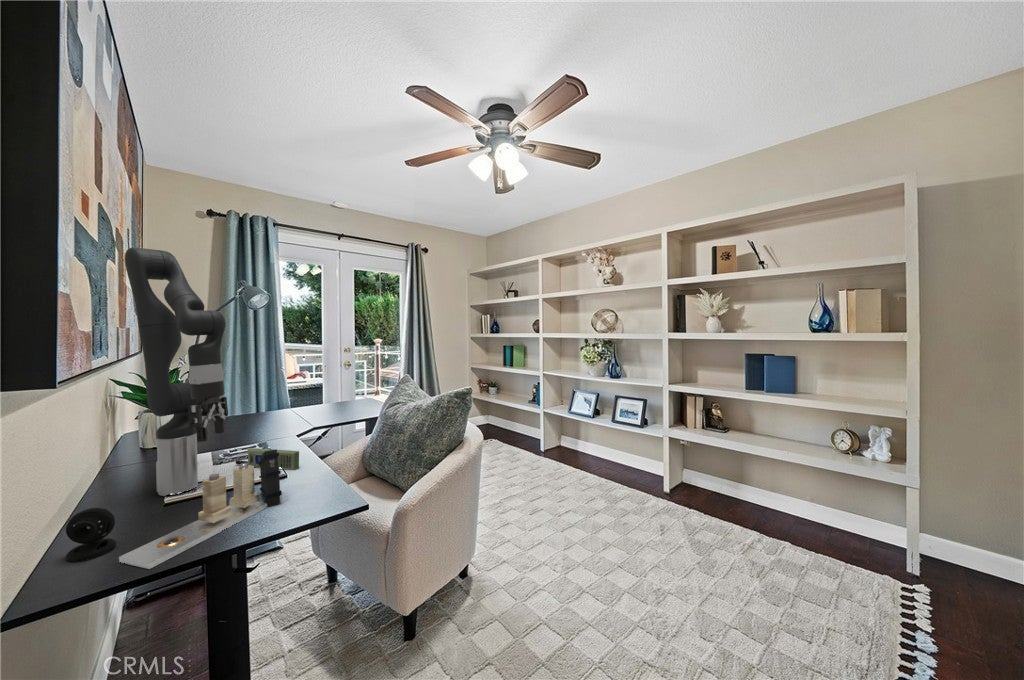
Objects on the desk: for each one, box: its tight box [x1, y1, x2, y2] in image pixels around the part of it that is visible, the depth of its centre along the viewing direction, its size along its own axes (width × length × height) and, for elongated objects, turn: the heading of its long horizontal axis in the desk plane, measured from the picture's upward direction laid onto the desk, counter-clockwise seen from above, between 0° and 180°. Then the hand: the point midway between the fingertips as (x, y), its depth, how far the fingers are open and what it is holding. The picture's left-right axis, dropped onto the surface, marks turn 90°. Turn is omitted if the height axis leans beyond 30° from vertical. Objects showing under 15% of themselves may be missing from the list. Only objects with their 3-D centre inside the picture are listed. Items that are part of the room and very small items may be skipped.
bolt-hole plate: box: [118, 463, 268, 570], centre depth 93 cm, size 9×28×13 cm, turn 165°
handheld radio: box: [235, 447, 300, 471], centre depth 136 cm, size 7×3×25 cm
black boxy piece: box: [258, 449, 283, 508], centre depth 111 cm, size 4×13×15 cm, turn 42°
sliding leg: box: [197, 473, 231, 523], centre depth 96 cm, size 5×4×12 cm
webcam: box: [65, 507, 117, 563], centre depth 84 cm, size 8×8×10 cm
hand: (211, 437), depth 107 cm, fingers open, 8 cm apart
